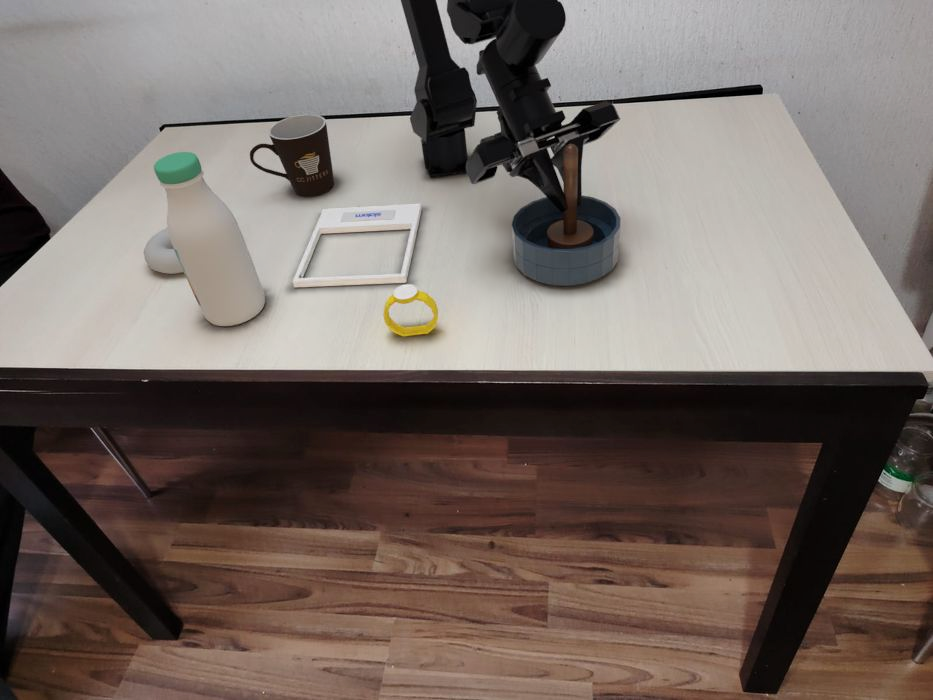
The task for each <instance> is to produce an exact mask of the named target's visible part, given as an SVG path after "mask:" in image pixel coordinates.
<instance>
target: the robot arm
mask: <svg viewBox="0 0 933 700" xmlns="http://www.w3.org/2000/svg"><path fill="white" fill-rule="evenodd" d="M400 3H401V7H402V10H403V13H404V18H405V21H406V24H407V25H406V26H407V29H408V32H409V35H410V39H411V43H412V47H413V50H414V53H415V57H416V61H417V65H418V73H417V77H416V80H415V85H414V96H415V101H416V103H415V105H414V108H413V110H412V112H411V115H410V117H409V122H410V124H411V128H412V132H413V133H414V134H415V135H416V136H418V137H419V138H420V145H421V150H422V151H421V152H422V156H423V164H424V170H427V171H428V175H429V176H428V177H429V178H438V177H444V176H445V177H446V176H451V175H452V176H453V175H459V174H467V176H468V178H469V181H470V183H471V184H472V185H477V184H479V183H482V182H485V181H487V180H490V179H493V178H494V177H495V176H496V173H497V170H498V166H502V167H503V169H504V170H505V171H506V172H507V173H508V174H509V176H510V177H511V178H514V177H515V178H516V177H520V178H522V179H525V180H528V181H529V182H530V183H531V184H532V185H534V186H535V187H536V188H537V189H538V190H539V191H541V193H542V194H543V195H544V196H545V197H547V198H548V199H549V200H550V201H551V202H552V203H553V204H554V205H555V206H556V207H557V208H558V209H559V210H560V211H561V212H565V211H566V210H567V209H568V207H567V203H566V199H565V195H564V193H563V188H562V187H563V186H562V184H561V182H560V179H559V176H558V174H557V171H558V173H559V175H560V178H561V181H563V151H564V148H565V146H566V145H568V144H574V145H576V146H577V148H578V183H577V206H579V205H581V203H582V195H583V194H582V166H583V165H582V163H583V153H584V145H587V144H590V143H593V142H596V141H597V140H599V139H601V138H602V137H603V136H605V134H607V133H608V131H610V130H611V129H612V128H613V127H614V126H615V125H616V124H617V123H618V122H619V121H621V117H620V115H619V113H618V111H617V108H616V107H615V105H614V104H613V103H611V102H609V101H607V100H605V101H601V102H599V103H596V104H592V105H591V106H587V107H584V108H582V109H581V110H580V112H579V113H578V114H577V115H576V116H575V117H574V118H573V119H572V120H571V121H570V122H569V123H565V124H562V123H563V122H564V121H565V120H566V118H567V117H566V116H565V114H564V111H563V109H561V110H558V111H557V110H556V109H555V106H554V104H553V101H552V100H551V98H550V95H549V93H548V91H549V89H550V88H551V87H552V84H551V82H550V80H549V77H546V78H542V76H541V75H540V73H539V70H538V68H537V66H536V65H538V64H539V63H541V61H542V60H543V59H544V58H545V56H546V55H547V53H548V52H549V50H550V49H551V47H552V46H553V44H554V43H555V42H556V41H557V39H558V37H559V36H560V35H561V33H562V31H563V30H564V28H565V26H566V21H567V19H566V18H567V16H566V10H565V7H564V5H563V3H562V2H561V1H559V0H447V3H446V13H447V15H448V17H449V19H450V25H451V28H452V31H453V32H454V34H455V35H456V37H458V39H459V40H460V41H461V42H462V43H463V44H464V45H467V44H468V45H475V44H478V43H482V42H485V41H489V42H488V43H487V45H486V46H485V48H484V49H480V50H479V52H478V60H477V63H476V74H477V75H478V76H481V75H484V76H485V77H486V80H487V81H488V84H489V87H490V88H491V91H492V93H493V95H494V97H495V100H496V102H497V105H498V107H499V108H498V109H497V111H496V115H497V120H498V122H499V126H500V132H497V133H494V134H493V135H492V134H491V135H490V136H486V137H484V138H483V137H482V138H481V139H480V142H479V143H478V144H477V145H476V146H475V148H474V149H473V151H472V152H471V154H470V155H469V157H468V148H467V147H468V146H467V138H466V137H467V136H466V129H468V128H473V127H475V124H476V114H477V106H478V105H477V104H478V99H477V96H476V93H475V91H474V88H473V87H472V82H471V78H470V73H469V71H468V70H467V68H466V67H465V66H463V67H460V66H459V64H457V63H456V61H454V59H452V56H451V52H450V49H449V45H448V41H447V36H446V33H445V30H444V26H443V22H442V18H441V14H440V9H439V7H438V2H437V0H400ZM548 149H550V150H551V152H552V154H553V156H552V157H551V155H550V153H549V150H548ZM555 168H556V169H557V171H556V169H555Z"/></svg>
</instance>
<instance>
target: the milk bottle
mask: <svg viewBox="0 0 933 700" xmlns="http://www.w3.org/2000/svg"><path fill="white" fill-rule="evenodd" d="M153 170H154V174H155V176H156V178H157V180H158V181H159V185H160V186H161V187H162V188H164V190H165V194H166V199H167V214H166V225H167V226H166V228H168V234H169V237H170V241H171V243H172V246H173V248H174V251H175V253H176V256H177V258H178V260H179V262H180V265H181V267H182V269H183V271H184V272H183V274H184V275H185V278H186V280H187V282H188V284H189V287H190V289H191V291H192V294H193V295H194V297H195V300H196V302H197V304H198V306H199V310H201V312H202V314H203V317H204V318H205V320H206V321H208V322H209V323H211V325H212V324H213V325H214V326H220V327H231V326H237V325H239V324H243V323H246V322H248V321H250V320H252V319H253V318H255V317H256V316H257V315H258V314H260V313H261V311H262V310H263V308H264V307H265V303H266V295H265V291H264V289H263V286H262V282H261V281H260V278H259V275H258V273H257V270H256V267H255V264H254V262H253V259H252V256H251V254H250V251H249V249H248V245H247V243H246V241H245V238H244V235H243V233H242V231H241V228H240V226H239V223H238V221H237V219H236V217H235V216H234V213H233V212H232V211H231V209H230V208H229V206H228V205H227V204H226V203H225V202H224V201H223V200H222V199H221V198H220V197H219V196H218V195H217V194H216V193H215V192H214V191H213V190H212V188H211V187H210V186H209V185H208V183H207V182H206V180H205V178H204V175H205V172H204V170H203V169H202V165H201V162H200V159H199V157H198V156H197V154H195V153H193V152H190V151H179V152H173V153H170V154H167V155H165V156H163V157H161V158H160V159H158V160H157V161H156V162H155V163H154V165H153Z"/></svg>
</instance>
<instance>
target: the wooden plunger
mask: <svg viewBox="0 0 933 700" xmlns="http://www.w3.org/2000/svg"><path fill="white" fill-rule="evenodd" d="M577 183H578V148H577V146H576V145H574V144H568V145H566V146H565V148H564V151H563V180H562V184H563V186H562V187H563V188H562V190H563V193H564V195H565V199H566V203H567V207H568V209H567V210H566V211H565V212H563V220H561V221H558V222H555V223H553V224H552V225H551V226H550V227H549V228H548V230H547V248H552V249H574V248H581V247H587V246H589V245H592V244H593V228H592V227H591V225H590V224H588V223H586V222H584V221H581V220H577Z"/></svg>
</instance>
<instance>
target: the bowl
mask: <svg viewBox="0 0 933 700" xmlns="http://www.w3.org/2000/svg"><path fill="white" fill-rule="evenodd" d="M581 195H582V203H581V205H579V206H577V220H581V221H584V222H586V223H588V224H590V225H591V227H592V228H593V244H592V245H589V246H587V247H581V248H574V249H552V248H547V230H548V228H549V227H550V226H551V225H552V224H553V223H555V222H558V221H561V220H563V212H561V211H560V210H559V209H558V208H557V207H556V206H555V205H554V204H553V203H552V202H551V201H550V200H549V199H548V198H547V197H546V196H545V197H542V198H539V199H535V200H532V201H529V203H527V204H526V205H523V206H522V207H521V208H519V210H517V212H516V213H515V214H514V216H513V218H512V222H511V237H512V238H511V239H512V255H513V260H514V264H515V267H516V268H517V269H518V270H519V271H520V272H521V273H522V274H523V276H525V277H528V278H529V279H531V280H533V281H535V282H539V283H542V284H547V285H551V286H567V287H569V286H578V285H584V284H588V283H591V282H594V281H596V280H599V279H601V278H603V277H604V276H605V275H607V274H608V273H610V272H611V271H612V270H613V269H614V268H615V266H616V264H617V263H618V261H619V249H620V236H621V216H620V215H619V213H618V211H617V209H616V208H615V207H613V206H612V205H610V204H609V203H608V202H606V201H604V200H602V199H599V198H596V197H593V196H588V195H583V194H581Z"/></svg>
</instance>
